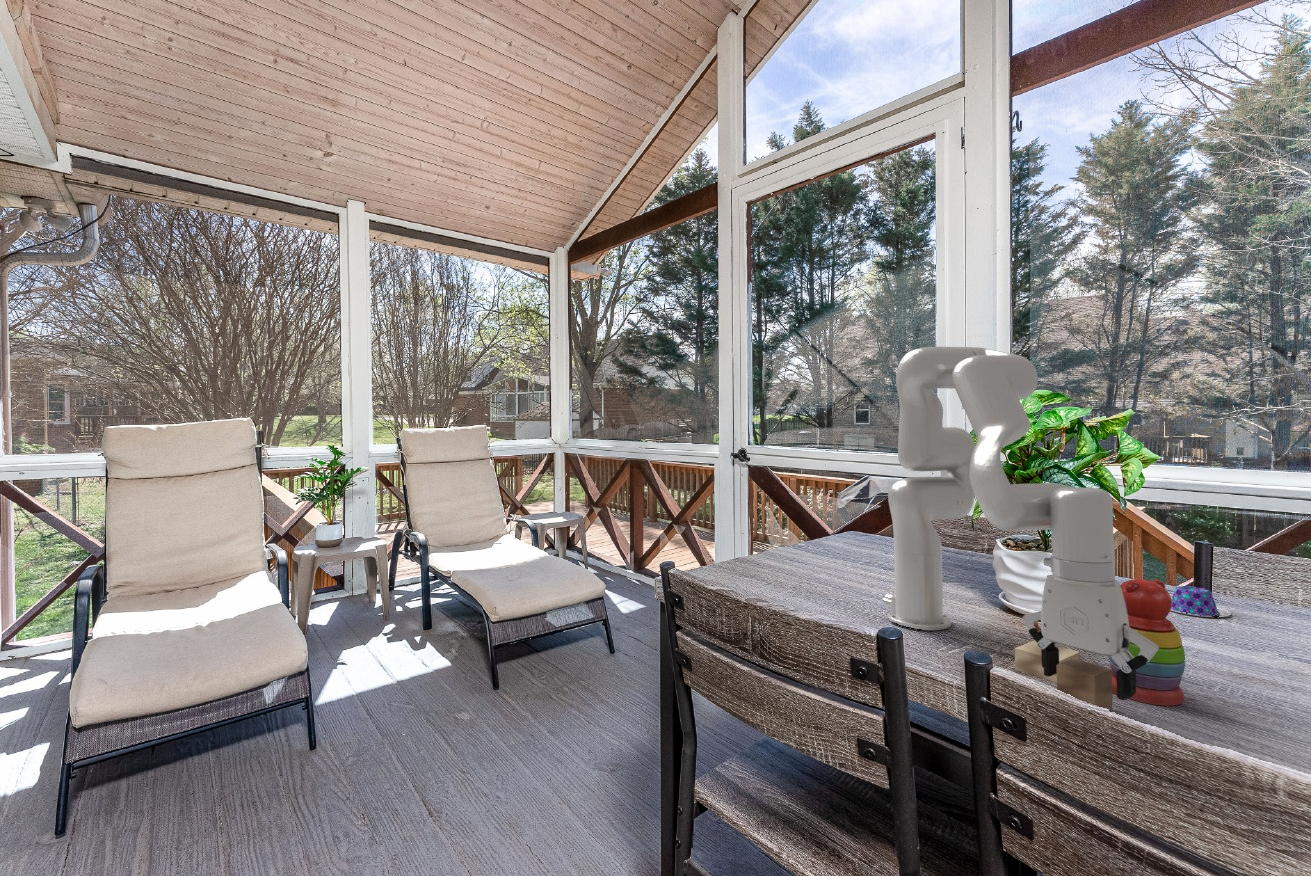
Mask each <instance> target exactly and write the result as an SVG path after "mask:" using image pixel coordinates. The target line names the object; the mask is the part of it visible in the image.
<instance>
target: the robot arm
mask: <svg viewBox="0 0 1311 876" xmlns="http://www.w3.org/2000/svg"><path fill="white" fill-rule="evenodd" d="M1038 377H1039V376H1038V371H1037V370H1036V368H1035V366H1034V364H1033V362H1031V361H1030V360H1029V359H1027V358H1026V357H1025V356H1023V355H1019V354H1015V353H1010V352H1004V351H1000V350H994V349H991V348H986V347H979V346H977V347H976V346H975V347H974V346H924V347H919V348H915V349H912V350H909V352H907V353H905V354H904V356H903V357H902V358H901V359H900V361H899V363H898V365H897V369H896V375H895V382H896V383H895V386H896V391H897V392H896V393H897V396H898V397H897V398H898V402H899V403H898V404H899V418H898V419H899V420H898V421H899V422H898V438H897V439H898V440H897V457H898V462H899V464H900V466H901V467H902V468H903V469H904V470H907V471H911V472H940V476H916V477H915V476H911V477H905V478H901V479H899V480H897V481H895V482H894V483H893V484H891V486H890V488H889V490H888V493H887V494H888V495H887V500H888V507H889V511H890V515H891V516H890V517H891V522H892V528H893V529H892V530H893V552H894V553H893V554H894V556H893V559H894V594H891V593H886V594H885V596H884V597H883V598H882V604H885V605H888V606H890V607H891V608H890V609H891V610H890V611H888V614H887V619H888V618H889V619H888V620H889V621H890V622H891V621H893V622H895V623H900V624H902V625H905V626H906V627H911V628H917V629H922V630H921V631H942V630H946V629H948V628H950V627H951V626H952V619H951V617H950V616H948V615H946V614H944V598H943V597H944V596H943V595H944V593H943V550H942V549H943V547H942V540H941V537H940V535H939V533H938V532H937V530H936V528H935V527H934V526H933V523H932V521H933V522H934V521H943V520H945V521H946V520H957V519H961V518H965V517H966V516H967V515H969V514H970V513H971V511H972V508H973V505H974V499H976V501H977V503H978V505H979V508H980V510H981V511H982V513H983V515H984V517H985V518H986V520H987V521H988V522H989V524H991V526H993V527H994V528H996V529H999V530H1000V531H1003V532H1022V531H1025V532H1026V531H1045V530H1046V531H1047V530H1048V531H1049V530H1050V532H1051V533H1050V537H1051V556H1050V557H1044V559H1043V565H1044V566H1045V567H1049V568H1050V570H1051V574H1048V575H1046V576H1045V581H1044V585H1043V592H1042V599H1041V610H1040V611H1036V612H1032V613H1028V614H1025V615H1023V616H1022V620H1023V621H1024V623H1025V626H1026V628H1027V629H1028V633H1029V635H1030V636H1031V637H1032V638H1033V641H1034V640H1035V641H1036V642H1037V646H1038V647H1039V648H1040V649H1041V657H1042V667H1043V668H1044V675H1045V676H1048V677H1049V676H1052V675H1055V674H1057V664H1059V649H1058V647H1055V645H1056V644H1058V645H1061V646H1063V647H1064V646H1065V647H1069V648H1073V649H1074V650H1075V649H1076V650H1080V651H1083V652H1087V653H1091V654H1095V655H1099V656H1103V657H1108V656H1111V657H1112V659H1113V660H1114V661H1115V662H1116V664H1117V665H1118V666H1119V667H1120V670H1118V671H1117V672H1116V682H1117V694H1116V698H1117V699H1119V700H1121V701H1125V700H1126V701H1127V699H1129V698H1130V697H1132V696H1133V695H1134V694H1135V693H1136V670H1137V669H1139V668H1140V667H1142V666H1144V665H1146V664H1147V663H1149V662H1150V661H1151V659H1152V658H1153V657H1154V655H1155V654H1156V652H1157V651H1158V649H1159V647H1158V645H1157V644H1155V643H1154V642H1152V641H1150V640H1149V639H1147V638H1146V637H1144V636H1143V635H1141V634H1140V633H1138V632H1136V631H1135V630H1133V629H1132V628H1130V627H1129V620H1128V613H1127V608H1126V603H1125V599H1124V595H1123V592H1122V588H1121V583H1119V582H1116V570H1115V569H1116V567H1115V561H1116V560H1115V543H1114V542H1115V541H1114V539H1115V538H1114V516H1113V515H1114V514H1113V513H1114V511H1113V509H1114V507H1113V499H1112V496H1111V494H1110V493H1109V492H1108V491H1107V490H1104V489H1102V488H1095V487H1075V486H1074V487H1072V486H1070V485H1066V484H1061V483H1054V482H1053V483H1052V482H1047V483H1043V482H1042V483H1016V484H1015V483H1014V484H1013V483H1011V482H1010V481H1009V479H1008V477H1007V475H1006V473H1005V470H1004V468H1003V464H1002V461H1001V460H1002V459H1001V453H1002V448H1004V447H1007V446H1008V445H1011V444H1012V443H1015V442H1017V441H1018V440H1019V439H1021V438H1023V437H1024V436H1025V435H1026V434H1027V433H1028V432H1029V430H1030V428H1031V420H1030V418H1029V417H1028V415H1027V412H1026V411H1025V409H1024V407H1023V405H1022V403H1021V401H1020V400H1024V399H1027V398H1028V397H1030V396H1032V394H1033V393H1035V391H1036V389H1037V387H1038V381H1039V379H1038ZM934 389H947V390H948V389H955V392H956V394H957V397H958V398H959V400H960V403H961V406H962V407H963V409H964V412H965V415H966V416H967V419H968V421H969V423H970V424H971V428H972V430H973V433H974V434H975V437H976V443H975V441H974V438H973V436H972V435H971V434H970V433H969V432H968V431H966V430H965V429H963V428H960V427H954V426H953V427H952V426H951V427H950V426H949V427H948V426H947V427H946V426H945V427H944V425H943V423H944V422H943V420H944V418H943V417H944V407H943V404H942V402H941V399H940V398H939V396H938V395H937V393H936V392H935V390H934ZM1038 621H1040V626H1039V623H1038ZM906 627H905V628H906ZM911 628H910V629H911ZM917 629H916V630H917ZM1130 641H1131V642H1132V643H1134V644H1135V645H1137V646H1138V647H1139V648H1140V652H1139V654H1138V656H1136V657H1135V658H1134V657H1133V655H1132V654H1131V653H1130V652H1129V651H1128V649H1129V647H1130Z"/></svg>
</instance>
